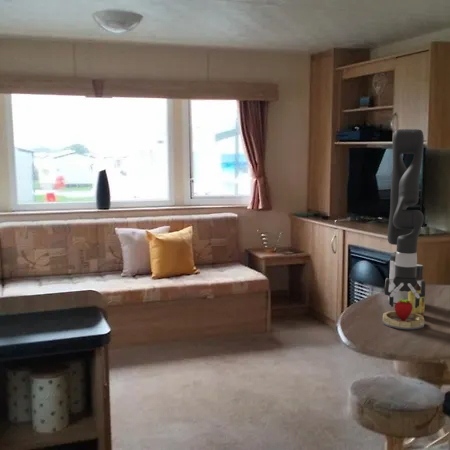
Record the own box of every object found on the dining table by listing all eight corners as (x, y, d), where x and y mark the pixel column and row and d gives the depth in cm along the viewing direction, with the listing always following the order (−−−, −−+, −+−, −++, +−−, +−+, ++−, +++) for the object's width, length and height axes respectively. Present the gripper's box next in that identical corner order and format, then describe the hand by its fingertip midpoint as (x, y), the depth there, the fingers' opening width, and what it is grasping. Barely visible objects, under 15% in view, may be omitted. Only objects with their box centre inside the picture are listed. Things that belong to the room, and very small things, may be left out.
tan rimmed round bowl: (380, 316, 226) (381, 309, 226) (420, 318, 223) (421, 311, 223) (384, 328, 212) (384, 321, 211) (426, 331, 209) (427, 323, 208)
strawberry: (390, 321, 217) (391, 295, 215) (400, 317, 222) (402, 291, 220) (404, 325, 213) (406, 299, 211) (415, 320, 218) (416, 294, 216)
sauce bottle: (425, 318, 224) (427, 267, 221) (408, 317, 225) (410, 266, 223) (422, 313, 231) (425, 263, 228) (406, 312, 232) (408, 263, 229)
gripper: (424, 262, 217) (422, 305, 219) (385, 261, 219) (383, 303, 222) (427, 267, 209) (425, 310, 212) (386, 265, 212) (384, 308, 214)
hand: (403, 306), depth 217 cm, fingers open, 8 cm apart
